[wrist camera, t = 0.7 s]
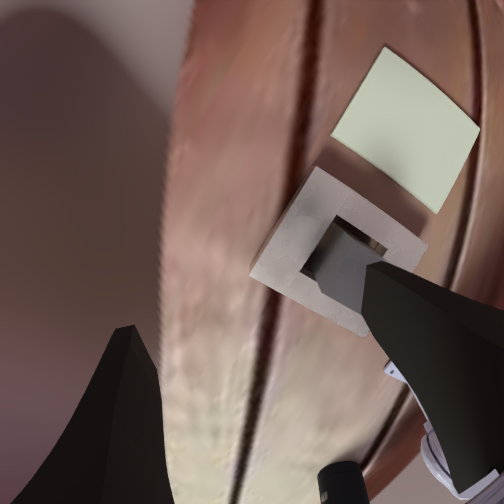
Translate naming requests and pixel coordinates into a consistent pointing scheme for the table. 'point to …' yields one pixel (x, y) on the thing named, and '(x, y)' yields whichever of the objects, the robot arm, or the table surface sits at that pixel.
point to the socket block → (309, 234)
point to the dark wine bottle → (342, 484)
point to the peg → (342, 266)
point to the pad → (407, 129)
